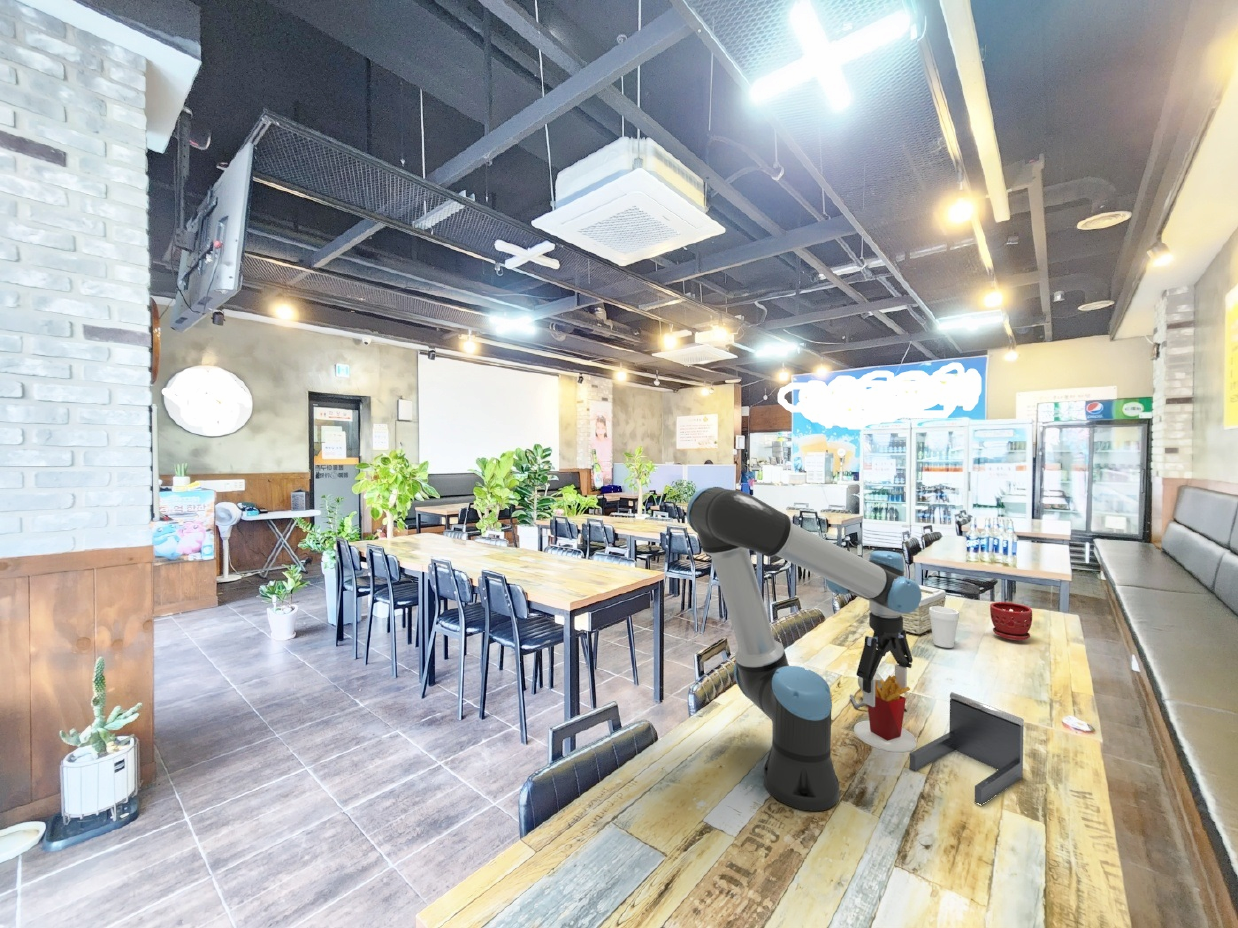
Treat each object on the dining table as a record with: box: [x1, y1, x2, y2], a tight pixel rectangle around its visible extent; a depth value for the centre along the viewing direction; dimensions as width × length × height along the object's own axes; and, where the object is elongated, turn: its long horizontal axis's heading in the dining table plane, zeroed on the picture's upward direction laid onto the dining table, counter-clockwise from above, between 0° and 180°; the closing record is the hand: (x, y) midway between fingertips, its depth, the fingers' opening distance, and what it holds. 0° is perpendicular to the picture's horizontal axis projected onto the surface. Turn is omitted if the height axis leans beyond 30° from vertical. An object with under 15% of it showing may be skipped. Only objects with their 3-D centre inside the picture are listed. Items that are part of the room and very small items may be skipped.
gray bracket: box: [909, 691, 1025, 806], centre depth 114 cm, size 19×14×14 cm
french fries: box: [867, 674, 911, 741], centre depth 128 cm, size 9×8×15 cm
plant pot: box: [989, 601, 1033, 642], centre depth 200 cm, size 13×13×12 cm
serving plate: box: [853, 719, 918, 754], centre depth 129 cm, size 14×14×1 cm
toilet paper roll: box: [849, 671, 885, 709], centre depth 146 cm, size 10×11×12 cm
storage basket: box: [901, 584, 947, 635], centre depth 214 cm, size 24×16×15 cm
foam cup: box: [929, 606, 960, 649], centre depth 192 cm, size 10×9×13 cm
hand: (885, 697), depth 128 cm, fingers open, 13 cm apart
